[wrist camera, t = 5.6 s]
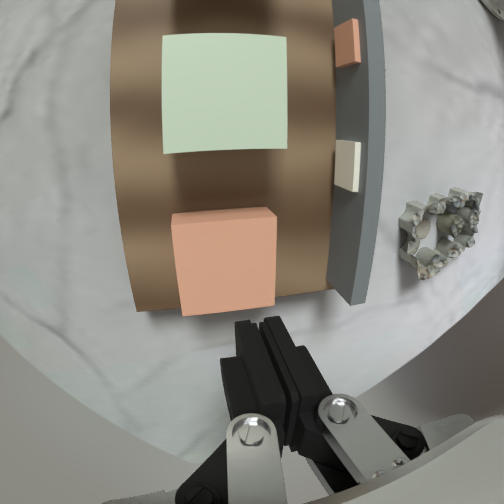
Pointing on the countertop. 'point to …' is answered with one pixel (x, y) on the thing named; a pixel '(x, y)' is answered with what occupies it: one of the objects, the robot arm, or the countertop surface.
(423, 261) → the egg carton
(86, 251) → the countertop surface
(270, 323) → the robot arm
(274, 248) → the key terracotta
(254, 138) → the key sage
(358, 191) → the keypad
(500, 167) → the countertop surface
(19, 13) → the countertop surface
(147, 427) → the countertop surface
